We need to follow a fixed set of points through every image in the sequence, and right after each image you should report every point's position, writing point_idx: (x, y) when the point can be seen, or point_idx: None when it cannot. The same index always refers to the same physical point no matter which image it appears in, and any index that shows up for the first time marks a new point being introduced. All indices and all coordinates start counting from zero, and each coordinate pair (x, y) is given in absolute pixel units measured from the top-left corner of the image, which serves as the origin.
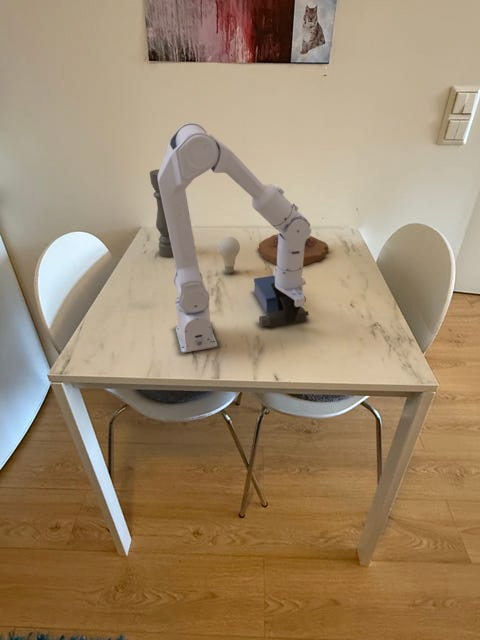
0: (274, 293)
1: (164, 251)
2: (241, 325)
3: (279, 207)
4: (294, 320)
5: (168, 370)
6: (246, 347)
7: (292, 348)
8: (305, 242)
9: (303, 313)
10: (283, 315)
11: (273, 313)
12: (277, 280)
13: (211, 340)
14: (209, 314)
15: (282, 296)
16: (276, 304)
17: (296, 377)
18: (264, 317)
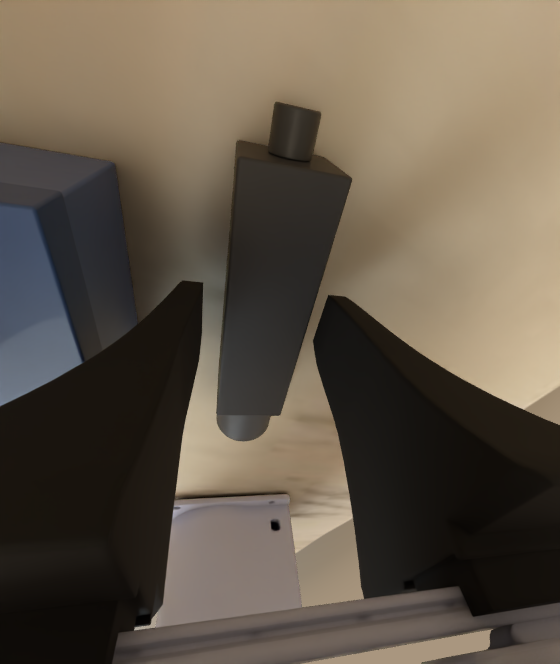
0: (14, 396)
1: None
2: (208, 441)
3: None
4: (350, 301)
5: (308, 535)
6: (333, 449)
7: (451, 345)
8: None
9: (341, 211)
10: (286, 358)
11: (238, 394)
12: None
13: (291, 529)
14: (237, 606)
15: (176, 432)
16: (115, 337)
17: (550, 385)
18: (253, 431)
